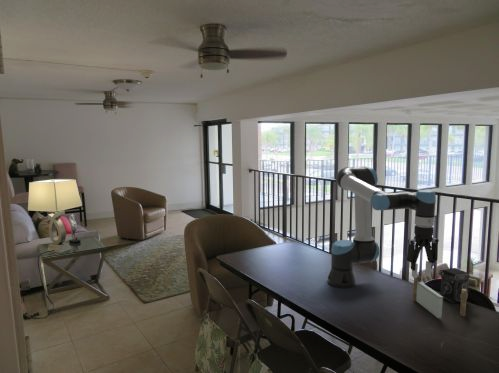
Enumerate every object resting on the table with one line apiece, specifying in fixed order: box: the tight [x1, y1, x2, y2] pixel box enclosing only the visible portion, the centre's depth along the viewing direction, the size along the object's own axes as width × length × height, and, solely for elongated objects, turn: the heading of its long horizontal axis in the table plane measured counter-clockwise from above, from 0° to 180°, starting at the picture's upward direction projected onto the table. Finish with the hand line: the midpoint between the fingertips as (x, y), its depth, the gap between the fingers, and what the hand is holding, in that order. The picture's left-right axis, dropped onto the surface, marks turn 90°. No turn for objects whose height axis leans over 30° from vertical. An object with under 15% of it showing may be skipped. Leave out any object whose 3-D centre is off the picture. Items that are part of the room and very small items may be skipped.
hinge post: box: [412, 274, 421, 303], centre depth 172 cm, size 3×3×13 cm
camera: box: [440, 267, 471, 304], centre depth 172 cm, size 10×11×15 cm
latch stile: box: [459, 289, 468, 317], centre depth 158 cm, size 2×2×12 cm
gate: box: [416, 281, 444, 319], centre depth 162 cm, size 17×2×10 cm, turn 5°
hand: (421, 276), depth 155 cm, fingers open, 6 cm apart
